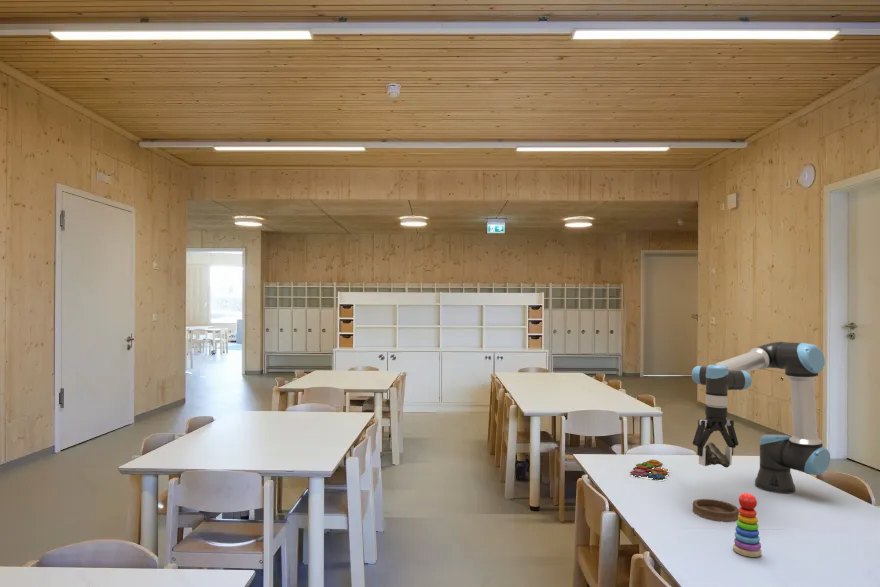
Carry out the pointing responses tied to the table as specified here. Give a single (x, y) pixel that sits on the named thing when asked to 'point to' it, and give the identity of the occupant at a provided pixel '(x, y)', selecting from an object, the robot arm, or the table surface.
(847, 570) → the table surface
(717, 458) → the grey brown rock
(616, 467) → the table surface
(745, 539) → the stacking toy
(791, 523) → the table surface
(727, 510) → the round tray
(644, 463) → the gear puzzle
